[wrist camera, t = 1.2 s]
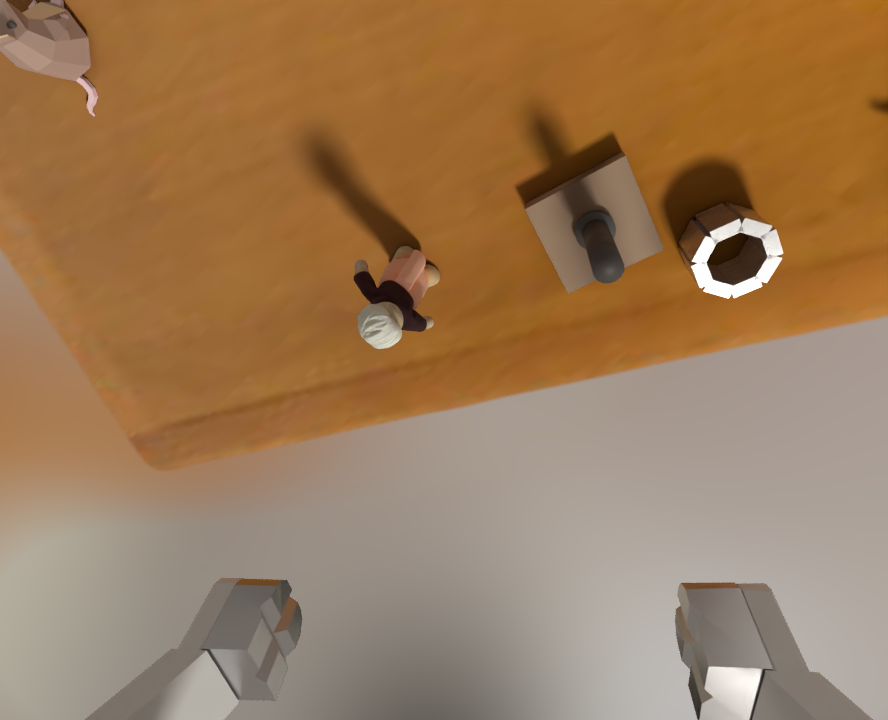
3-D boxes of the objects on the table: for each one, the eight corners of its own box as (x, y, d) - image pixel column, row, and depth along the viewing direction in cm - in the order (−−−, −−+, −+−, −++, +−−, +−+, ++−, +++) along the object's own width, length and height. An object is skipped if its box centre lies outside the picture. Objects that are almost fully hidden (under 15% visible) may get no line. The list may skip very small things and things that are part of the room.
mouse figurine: (67, 120, 44) (0, 134, 38) (14, 4, 40) (-70, 0, 34) (123, 112, 43) (62, 125, 37) (74, -8, 39) (-3, -14, 33)
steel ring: (748, 190, 40) (768, 205, 36) (768, 255, 42) (790, 275, 39) (670, 227, 42) (682, 244, 38) (694, 286, 44) (707, 308, 41)
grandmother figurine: (459, 270, 46) (439, 343, 35) (436, 303, 48) (411, 382, 37) (381, 222, 45) (336, 284, 34) (362, 259, 47) (313, 327, 36)
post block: (622, 151, 39) (647, 183, 31) (660, 243, 43) (691, 292, 35) (524, 204, 42) (524, 244, 34) (566, 286, 46) (575, 340, 38)
